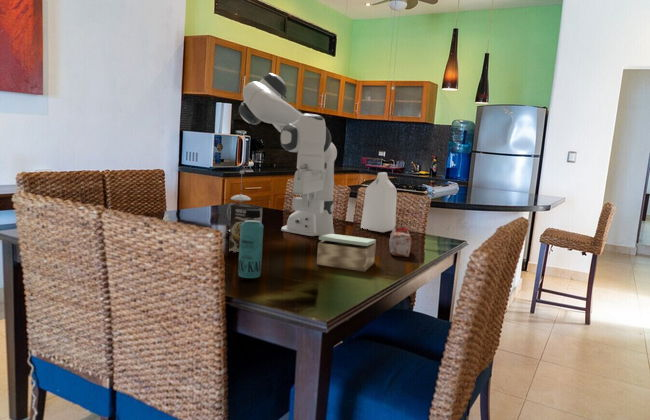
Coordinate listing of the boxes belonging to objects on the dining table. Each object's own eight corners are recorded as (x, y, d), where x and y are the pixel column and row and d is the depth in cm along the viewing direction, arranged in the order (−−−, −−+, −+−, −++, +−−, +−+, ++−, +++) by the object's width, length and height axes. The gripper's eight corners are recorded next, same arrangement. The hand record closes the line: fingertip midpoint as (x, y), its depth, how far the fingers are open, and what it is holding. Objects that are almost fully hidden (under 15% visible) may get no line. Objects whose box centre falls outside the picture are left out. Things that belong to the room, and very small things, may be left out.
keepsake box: (316, 264, 162) (318, 242, 161) (328, 256, 173) (330, 236, 172) (364, 271, 157) (366, 249, 156) (374, 263, 168) (375, 242, 167)
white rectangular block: (292, 209, 168) (292, 197, 167) (296, 208, 171) (296, 197, 170) (319, 213, 164) (320, 201, 164) (323, 212, 167) (324, 200, 167)
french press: (256, 232, 207) (259, 171, 203) (237, 236, 197) (239, 172, 193) (238, 228, 212) (241, 169, 208) (218, 232, 202) (220, 169, 199)
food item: (411, 258, 179) (414, 231, 178) (389, 256, 180) (391, 229, 178) (407, 250, 193) (410, 224, 191) (386, 248, 193) (388, 223, 192)
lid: (318, 239, 161) (318, 236, 161) (331, 236, 173) (331, 233, 173) (366, 246, 156) (367, 242, 156) (376, 242, 168) (376, 239, 168)
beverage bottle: (238, 276, 143) (241, 206, 140) (261, 277, 143) (265, 207, 141) (236, 283, 136) (239, 210, 134) (260, 284, 137) (264, 211, 134)
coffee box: (228, 251, 171) (229, 204, 169) (237, 248, 177) (239, 202, 175) (252, 255, 168) (254, 207, 166) (260, 251, 174) (263, 205, 172)
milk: (373, 225, 242) (378, 171, 238) (395, 229, 235) (400, 173, 231) (360, 228, 232) (364, 171, 228) (382, 232, 226) (387, 174, 222)
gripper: (308, 166, 155) (305, 210, 157) (329, 163, 174) (326, 203, 176) (289, 164, 156) (287, 208, 159) (311, 162, 176) (309, 201, 178)
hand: (308, 205), depth 167 cm, fingers closed on white rectangular block, 3 cm apart
